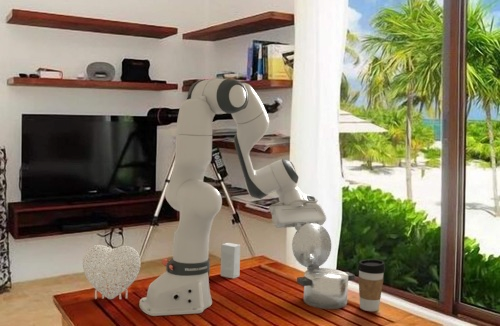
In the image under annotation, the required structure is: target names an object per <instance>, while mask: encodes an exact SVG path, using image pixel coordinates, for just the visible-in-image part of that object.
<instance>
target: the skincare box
mask: <svg viewBox="0 0 500 326" xmlns="http://www.w3.org/2000/svg"><path fill="white" fill-rule="evenodd" d="M220 246H221V248H220V249H221V252H220V253H221V254H220V277H225V278H229V279H233V280H234V279H236V278H239V277H240V272H241V271H240V270H241V268H240V267H241V244H237V243H232V242H226V243H221V245H220Z"/></svg>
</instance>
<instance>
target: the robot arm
mask: <svg viewBox="0 0 500 326" xmlns="http://www.w3.org/2000/svg"><path fill="white" fill-rule="evenodd" d="M267 112H268V111H267V109H266V108H265V105H264V104H263V102H262V100H261V98H260V97H259V95H258V94H257V92H256V91H255V89H254V88H253V87H252V85H250V84H249V83H246V82H241V81H239V80H238V79H235V78H219V77H218V78H217V77H216V78H215V77H214V78H209V79H200V80H197V81H196V82H194V83H192V84H191V85H190V87H189V90H188V91H187V96H186V100H184V101H183V102H181V104H180V106H179V111H178V115H177V121H176V134H175V156H174V157H175V158H174V164H173V169H172V173H171V176H170V180H169V182H168V183H167V185H166V187H165V190H164V197H165V199H166V201H167V203H168V204H169V205H170V207H171V208H173V209H174V210H175V211H177V212H180V216H179V217H180V218H179V222H178V225H177V229H176V230H175V231H174V232H173V237H172V238H173V242H172V258H171V259H170V260H168V259H167V258H163V259H162V261H161V264H162V265H163V266H165V267H166V268H165V269H166V271H164V272H163V273H162V274H161V275H160V276H158V277H157V278H156V279H154V280H152V282H151V283H150V284H149V286H148V288H147V291H146V292H147V294H146V296H145V297H141V299H140V300H139V305H138V306H139V308H140V310H141V311H142V312H143V313H145V314H147V315H148V316H151V317H152V316H153V317H157V316H171V315H172V316H173V315H191V314H202V313H203V312H204V311H205V310H206V309H207V308H210V307H211V305H212V304H213V300H212V295H211V289H210V283H209V282H210V280H209V277H210V271H211V263H210V262H211V261H210V258H209V252H210V251H209V247H210V236H211V234H210V233H211V229H212V226H213V222H214V219H215V217H216V215H217V214H219V212H220V211H221V209H222V205H223V198H222V194H221V193H220V191H218V189H217V188H216V187H214V186H213V185H211V184H210V183H208V182H205V181H204V178H205V174H206V171H207V168H208V166H209V165H210V164H211V162H212V158H213V157H212V155H213V154H212V153H213V151H212V150H213V120H214V117H215V116H216V115H223V114H228V115H229V114H230V115H231V117H232V119H233V120H234V123H235V125H236V134H235V135H234V137H233V140H234V148H235V150H236V154H237V157H238V160H239V164H240V168H241V170H242V173H243V176H244V183H245V188H246V191H247V193H248V194H249V196H251V197H252V198H254V199H260V200H261V199H263V198H265V197H267V196H269V195H270V194H272V193H274V192H275V193H276V194H277V196H278V201H279V203H271V204H270V206H269V207H268V209H269V210H268V211H269V212H270V214H271V220H272V224H273V226H274V227H275V228H276V229H283V228H284V229H285V228H294V229H295V230H296V231H297V230H298V229H299V228H300V227H301V226H303V225H305V224H309V223H315V224H319V225H321V226H323V225H324V224H325V223H326V221H327V216H326V213H325V212H324V208H322V206H321V205H320V203H318V201H319V200H318V198H317V197H316V196H314V195H313V196H312V195H310V194H306V193H304V192H303V191H302V190H301V189H300V187H299V183H298V182H299V175H298V173H297V172H296V171H297V170H296V168H295V165H294V164H293V163H292V161H290V160H288V159H285V158H281V159H278V160H276V161H273V162H272V163H269V164H267V165H265V166H263V167H261V168H259V169H254V166H253V163H252V159H251V157H250V156H251V155H250V152H251V150H252V149H253V147H254V146H255V145H256V144H257V143H258V142H259V141H260V140H261V139H262V138H263V137H264V136H265V135H266V133H267V131H268V129H269V126H270V118H269V115H268V113H267Z"/></svg>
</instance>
